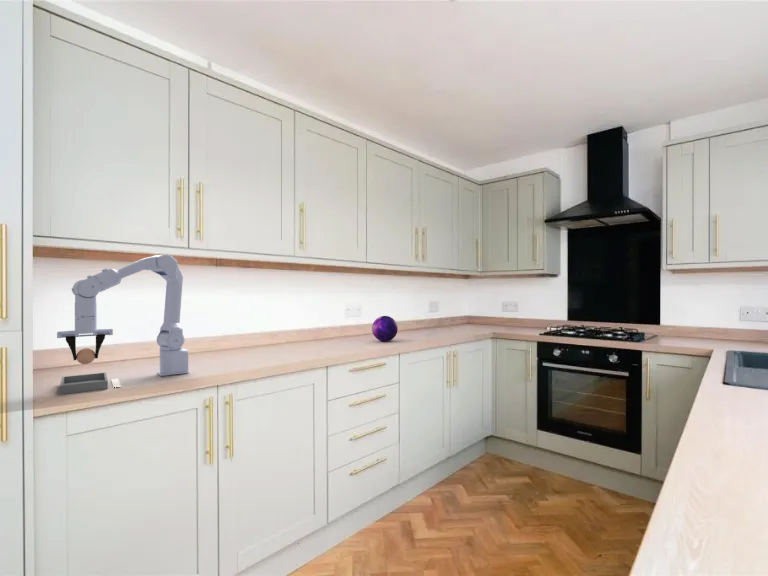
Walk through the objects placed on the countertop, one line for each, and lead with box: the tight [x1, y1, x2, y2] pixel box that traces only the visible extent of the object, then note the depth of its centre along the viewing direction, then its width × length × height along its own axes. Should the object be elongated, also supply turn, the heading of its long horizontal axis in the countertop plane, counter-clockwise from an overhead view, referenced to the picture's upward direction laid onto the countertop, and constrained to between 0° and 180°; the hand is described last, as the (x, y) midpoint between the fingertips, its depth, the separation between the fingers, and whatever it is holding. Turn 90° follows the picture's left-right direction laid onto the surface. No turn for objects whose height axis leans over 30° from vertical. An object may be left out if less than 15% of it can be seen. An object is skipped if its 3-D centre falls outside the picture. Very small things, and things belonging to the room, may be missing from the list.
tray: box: [58, 372, 109, 395], centre depth 134 cm, size 12×16×3 cm
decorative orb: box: [371, 315, 399, 343], centre depth 244 cm, size 15×15×15 cm
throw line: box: [110, 378, 122, 389], centre depth 139 cm, size 2×16×1 cm, turn 35°
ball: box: [76, 347, 95, 365], centre depth 134 cm, size 5×5×5 cm
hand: (85, 358), depth 134 cm, fingers closed on ball, 5 cm apart
